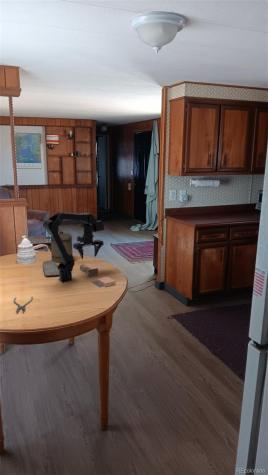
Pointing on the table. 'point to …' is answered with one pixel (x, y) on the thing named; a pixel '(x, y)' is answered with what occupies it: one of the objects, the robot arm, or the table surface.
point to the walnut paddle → (89, 271)
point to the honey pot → (26, 252)
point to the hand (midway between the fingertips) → (88, 257)
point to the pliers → (21, 306)
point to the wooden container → (67, 243)
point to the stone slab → (50, 268)
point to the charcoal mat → (97, 284)
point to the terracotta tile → (106, 281)
